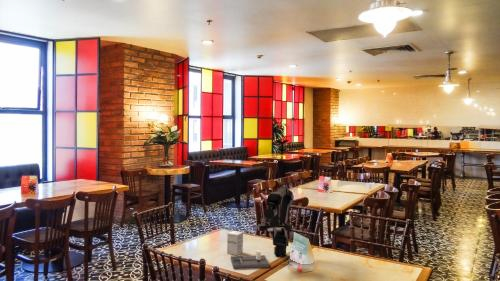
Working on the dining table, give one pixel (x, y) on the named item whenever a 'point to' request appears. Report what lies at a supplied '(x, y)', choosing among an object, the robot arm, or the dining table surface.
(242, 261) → the console
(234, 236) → the supplement box
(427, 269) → the dining table surface
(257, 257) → the fader tab
